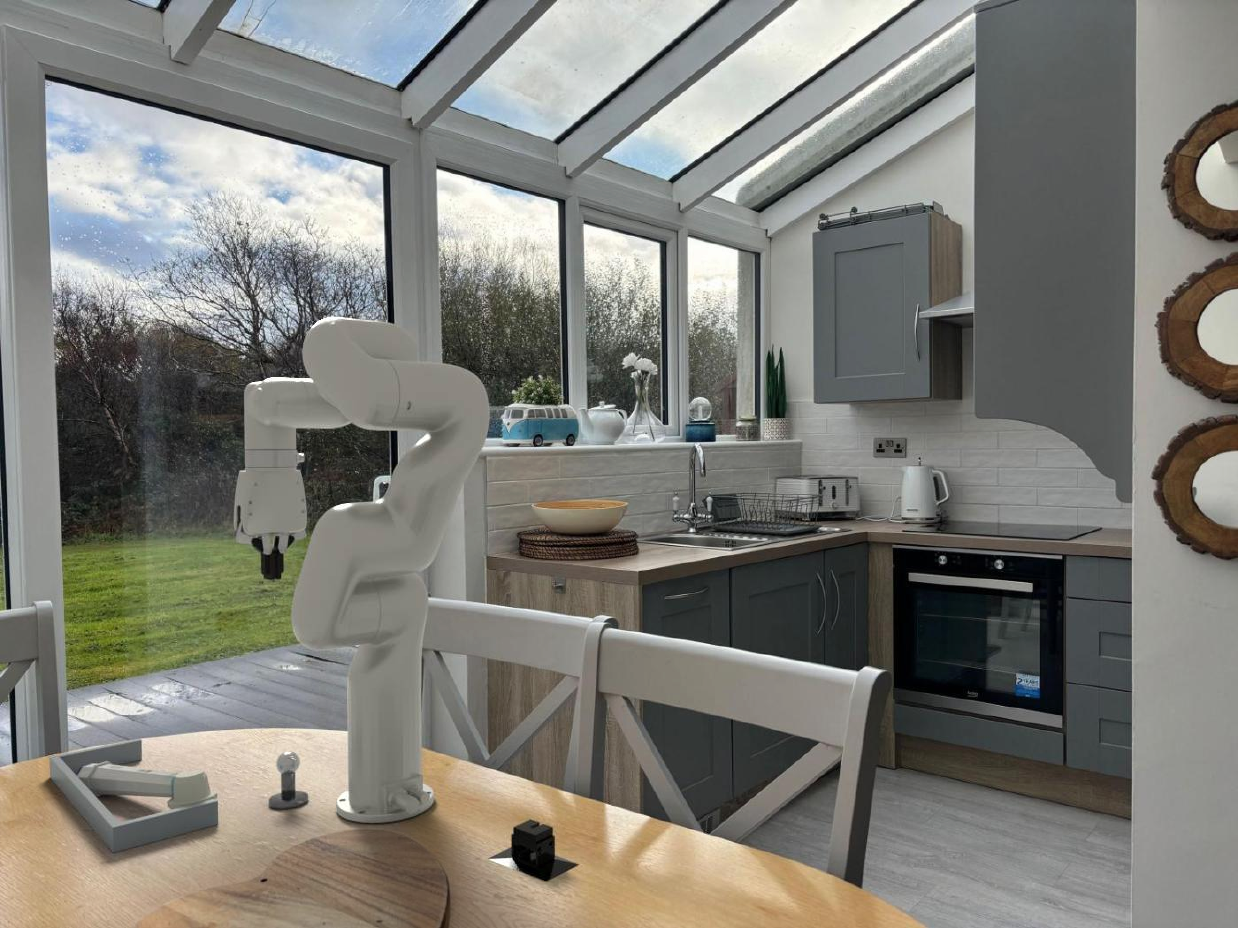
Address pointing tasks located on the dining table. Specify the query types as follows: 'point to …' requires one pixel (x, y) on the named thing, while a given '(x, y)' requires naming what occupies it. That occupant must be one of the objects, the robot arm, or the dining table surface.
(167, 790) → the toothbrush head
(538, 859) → the black slotted block
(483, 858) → the dining table surface
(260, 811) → the dining table surface
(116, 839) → the bay
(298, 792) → the ball stud
